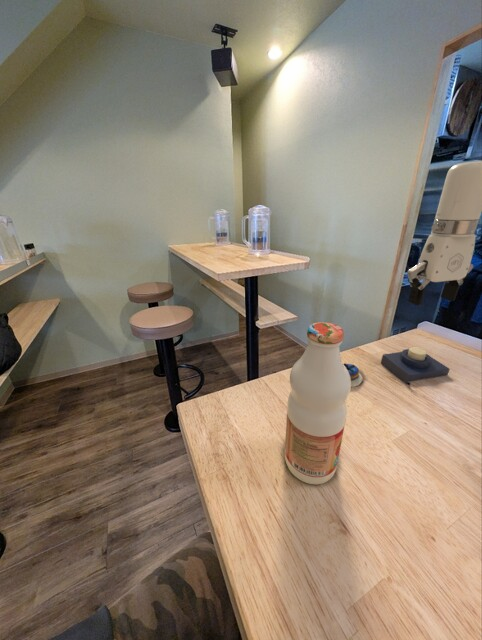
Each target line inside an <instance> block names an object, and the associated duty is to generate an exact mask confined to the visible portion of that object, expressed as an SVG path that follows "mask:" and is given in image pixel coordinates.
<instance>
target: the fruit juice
mask: <svg viewBox="0 0 482 640" xmlns="http://www.w3.org/2000/svg"><path fill="white" fill-rule="evenodd" d="M344 333H345V332H344V330H343V328H342V327H341V326H339V325H338V324H335V323H331V322H327V321H326V322H323V321H322V322H321V321H320V322H313V323H311V324H310V325H309V326H308V327H307V332H306V339H307V341H308V343H307V345H306V348H305V350H304V352H303V353H302V356H301V357H300V358H298V359H297V360H296V362H295V363H294V364H293V365H292V367H291V370H290V372H289V384H290V385H289V386H290V389H291V390H290V392H289V395H288V399H287V406H286V422H285V423H286V425H285V440H284V441H285V442H284V459H285V463H286V466H287V468H288V470H289V472H290V473H291V474H292V475H293V476H294V477H295V478H296V479H298V480H299V481H301V482H303V483H306V484H309V485H322V484H324V483H327V482H328V481H330V480H331V479H332V478H333V476H335V473H336V471H337V467H338V462H339V457H340V451H341V446H342V442H343V435H344V431H345V425H346V420H347V413H348V412H347V411H348V408H347V402H346V400H347V399H348V397H349V395H350V392H351V388H352V387H351V378H350V374H349V372H348V370H347V369H346V367H345V366H344V365H343V364H344V363H343V361H342V356H341V349H340V347H341V344H342V343H343V340H344Z"/></svg>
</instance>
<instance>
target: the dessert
mask: <svg viewBox="0 0 482 640" xmlns="http://www.w3.org/2000/svg"><path fill="white" fill-rule="evenodd" d="M343 365H344V366H345V367H346V369H347V370H348V372H349V374H350V378H351V388H355V387H357V386H359V385H360V384H361V383H362V382H363V376H362V374H361V373H360V370H359V367H357V365H355V364H352V363H346V362H344V363H343Z"/></svg>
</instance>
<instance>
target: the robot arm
mask: <svg viewBox="0 0 482 640" xmlns="http://www.w3.org/2000/svg"><path fill="white" fill-rule="evenodd" d="M481 216H482V160H477V161H476V160H475V161H467V162H461V163H456V164H454V165H452V167H450V168H449V169H448V171H447V173H446V176H445V180H444V184H443V187H442V191H441V194H440V197H439V201H438V206H437V209H436V212H435V216H434V220H433V224H432V225H431V232H430V234H429V235H428V237H427V238H426V242H425V244H424V246H423V248H422V251H421V254H420V257H419V259H418V263H417V264H416V265H415V266H413V267H411V268H410V269H408V270H407V271H406V274H407V281H408V283H409V286H410V288H411V289H410V291H409V297H408V303H411V304H413V305H415V306H421V305H422V303H423V300H424V296H425V293H426V289H424V288H426V287H427V286H428V284H429V283H430V282H432V283H442V282H445V283H444V285H443V289H442V291H441V293H440V294H441V295H440V297H441V298H442V299H444V300H448V301H450V302H454V301H455V300H456V298H457V295H458V292H459V289H460V286H462V285H463V283H464V280H465V279H467V277H469V273H470V272H471V271H472V270H473V268H474V264H472V260H473V259H472V258H473V255H474V251H475V245H476V234H475V232H476V230H477V227H478V224H479V221H480V219H481ZM421 280H422V281H421Z"/></svg>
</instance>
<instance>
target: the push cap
mask: <svg viewBox="0 0 482 640" xmlns="http://www.w3.org/2000/svg"><path fill="white" fill-rule="evenodd" d="M408 349H409V351H408V357H410V358H412V359H414V360H419V361H423V360H425V357H426V354H428V352H427V350H426V349H424V348H423V347H418V346H411V347H409V348H408Z"/></svg>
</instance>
